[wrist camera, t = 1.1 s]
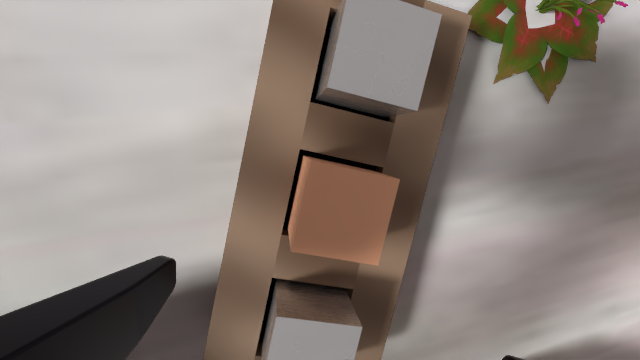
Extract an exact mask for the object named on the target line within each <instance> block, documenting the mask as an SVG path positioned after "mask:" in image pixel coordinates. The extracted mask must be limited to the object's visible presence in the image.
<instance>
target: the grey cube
mask: <svg viewBox="0 0 640 360" xmlns="http://www.w3.org/2000/svg"><path fill="white" fill-rule="evenodd" d="M361 331H362V325H361V323H360V320H359V318H358V316H357V314H356V312H355V309H354V307H353V305H352V303H351V301H350V299H349V296H348V294H347V292H346V290H345V288H341V287H334V286H327V285H320V284H313V283H306V282H299V281H293V280H286V279H279V278H276V281H275V286H274V290H273V295H272V300H271V304H270V309H269V313H268V318H267V322H266V327H265V332H264V336H263V341H262V354H261V360H354V359H355V355H356V351H357V347H358V343H359V339H360V335H361Z"/></svg>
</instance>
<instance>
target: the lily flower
mask: <svg viewBox="0 0 640 360" xmlns="http://www.w3.org/2000/svg"><path fill="white" fill-rule="evenodd" d="M613 2H615V4H617V5H619V4H620V5H622V6H623V7H626V6H628V5H627V4H624V3H623V2H620V1H616V0H615V1H614V0H597V1H595V2H593V3H591V4H588V5H587V4H586V3H584V2H582V1H580V0H543V1H542V2H541V3H540V5H538V6H536V7H537V8H538V10H540V11H539V12H540V13H544V12H547V11H551V10H555V24H554V25H550V26H546V27H542V28H533V29H528V25H527V18H526V11H525V5H526V0H479V1H478V2H477V3H476V4H475V5H474V6H473V7H472V9H471V10H470V11H469V13H468V14H469V15H472V18H471V22H470V25H469V29H470V30H475V31H476V33H477V34H479V35H481V36H483V37H485V38H487V39H489V40H491V41H494V42H497V43H503V47H502V51H501V56H500V60H499V65H498V74H497V75H496V78H495V81H494V83H496V82H498V81H500V80H502V79H505V78H508V77H510V76H512V74H514V73H515V74H519V73H522V72H524V71H528V73H529V74H530V76H531V77H532V79H533V80H534V82H535V84H536V85H537V87H538V88H539V89H540V91H541V92H542V93H543V94H545V98H546V100H547V102H548V104H549V101H550V98H551V96H552V95H553V93H554V91H555V90H556V85H557V84H559V83H560V82H561V80H562V78H563V76H564V74H565V72H566V68H567V63H568V57H569V58H574V59H581V60H588V59H591V60H592V61H594V62H596V57H595V55H596V48H597V45H596V43H595V42H596V41H597V39H598V30H599V27H598V24H597V22H598V21H599V20H600V21H601V24H602V23H603V22H605V20H604V18H603V17H604V16H605V15H606V13H607V12H608V11H609V10H610V8H611V7H612V6H613ZM552 5H555V6H552ZM550 6H551V7H550ZM506 7H508V8H509V9H510V10H511V11H512V12H514V13H516V14H514V15H513V16H512V17H511V19H510V20H509V22H508V24H506V23H504V22H503V21H501V20H499V19H498V18H496V17H497V16H498V15H499V14H500V13H501V12H502V11H503V10H504V9H505V8H506ZM543 8H544V9H543ZM536 11H537V10H536ZM547 43H548V44H549V45H550V47H551V48H552V51H551V54H550V57H549V59H548V60H547V61H546V66H545V72H544V70H543V67H542V64H541V62H540V61H541V60H542V58H543V56H544V55H545V52H546V49H547Z"/></svg>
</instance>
